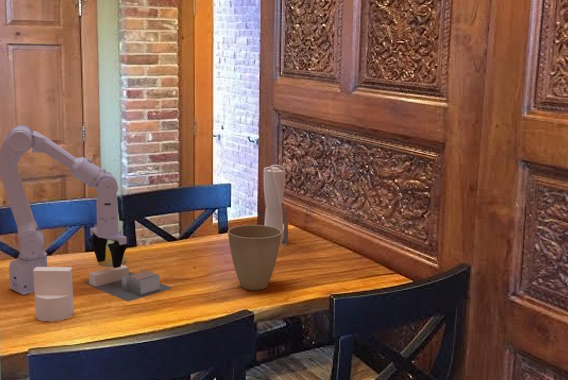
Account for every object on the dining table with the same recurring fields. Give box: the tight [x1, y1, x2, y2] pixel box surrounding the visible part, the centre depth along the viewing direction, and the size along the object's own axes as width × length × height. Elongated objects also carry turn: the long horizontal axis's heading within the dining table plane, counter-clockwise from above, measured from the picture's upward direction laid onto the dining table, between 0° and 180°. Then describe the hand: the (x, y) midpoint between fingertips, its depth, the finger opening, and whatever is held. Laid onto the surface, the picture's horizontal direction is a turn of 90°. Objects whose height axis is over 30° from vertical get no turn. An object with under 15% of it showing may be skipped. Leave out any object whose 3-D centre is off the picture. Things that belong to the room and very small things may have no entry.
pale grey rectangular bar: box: [88, 264, 129, 287], centre depth 211 cm, size 11×3×3 cm, turn 138°
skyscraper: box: [263, 164, 289, 248], centre depth 250 cm, size 8×8×28 cm
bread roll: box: [98, 249, 127, 267], centre depth 228 cm, size 8×9×4 cm
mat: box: [82, 270, 173, 302], centre depth 208 cm, size 15×21×1 cm
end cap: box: [122, 269, 161, 296], centre depth 204 cm, size 8×8×4 cm
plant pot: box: [227, 224, 282, 291], centre depth 209 cm, size 15×15×16 cm
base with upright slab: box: [33, 266, 75, 323], centre depth 185 cm, size 9×9×12 cm
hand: (109, 264), depth 210 cm, fingers open, 7 cm apart
